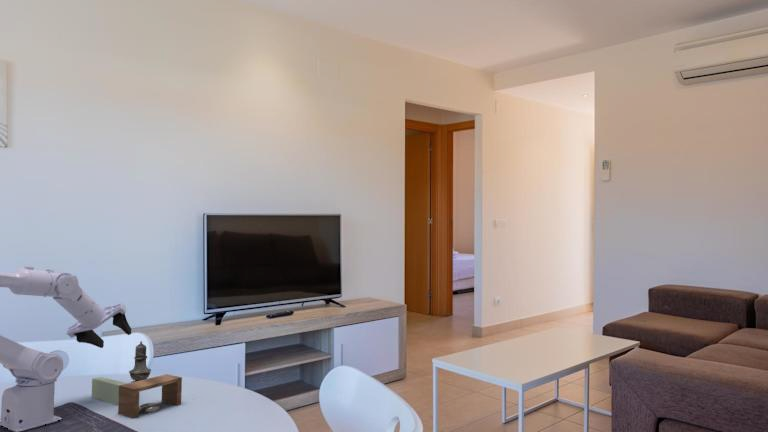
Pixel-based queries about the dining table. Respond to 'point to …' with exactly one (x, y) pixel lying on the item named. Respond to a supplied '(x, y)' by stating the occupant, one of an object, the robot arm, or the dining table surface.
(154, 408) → the disc
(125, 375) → the dining table surface
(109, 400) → the bar
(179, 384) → the wooden bridge block
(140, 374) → the salt shaker
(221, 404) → the dining table surface
